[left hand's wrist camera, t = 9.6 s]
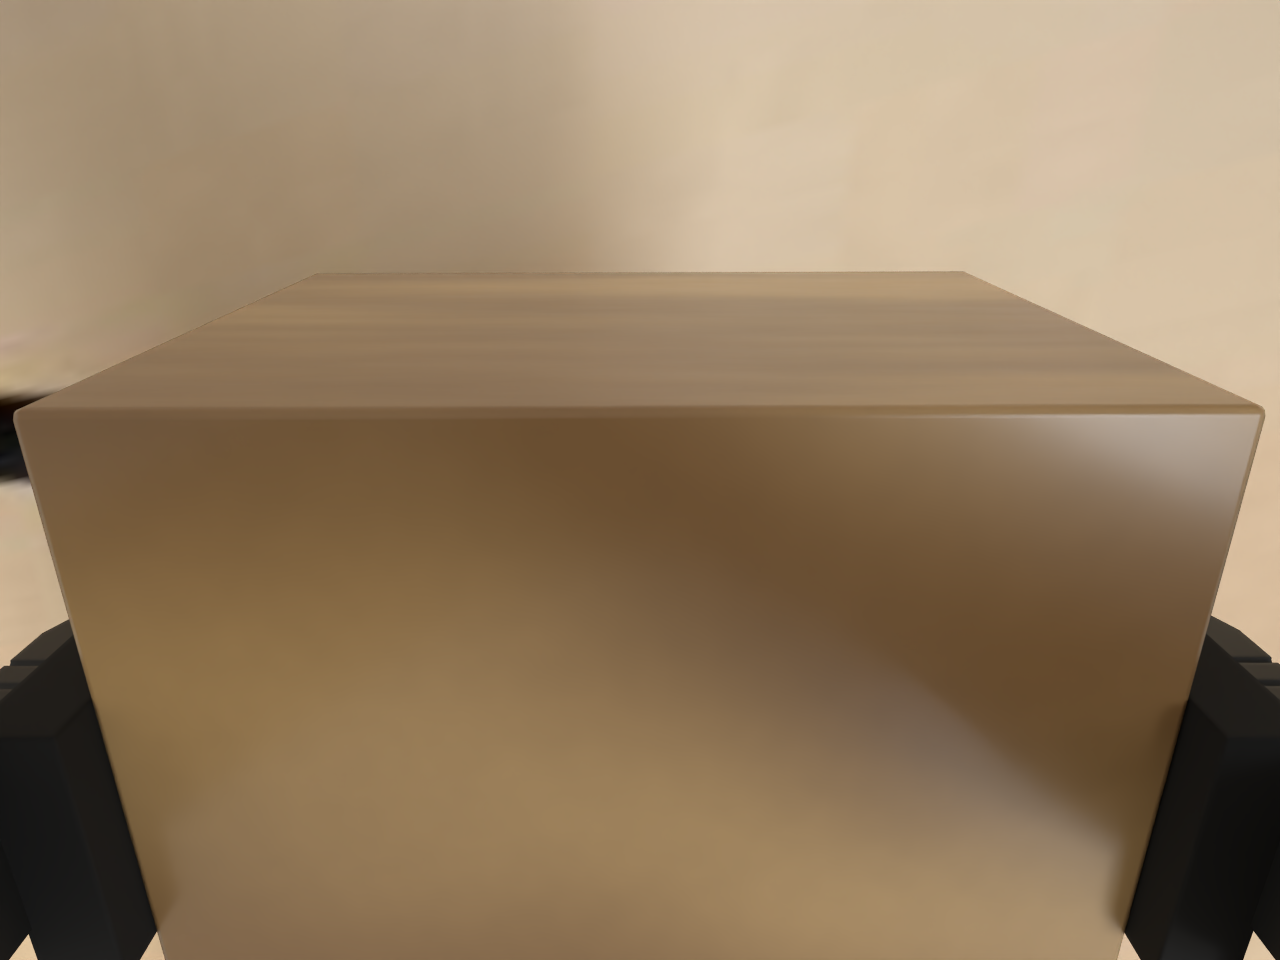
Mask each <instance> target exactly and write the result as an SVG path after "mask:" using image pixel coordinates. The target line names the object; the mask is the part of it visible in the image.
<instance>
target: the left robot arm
mask: <svg viewBox="0 0 1280 960" xmlns="http://www.w3.org/2000/svg"><path fill="white" fill-rule="evenodd" d="M1253 931H1254V932H1255V933H1256V935H1257V936H1258V937H1259V939H1260V940H1261V941H1262V943H1263V944H1264V945H1265V946H1266V948H1267V949H1268V950H1269V952H1270V953H1271V954H1272V956H1273V957H1274V958H1275V960H1280V664H1279V663H1272V661H1271V657H1270V656H1269V655H1268V654H1267V653H1266V652H1264V651H1263V650H1262V649H1261V648H1260V647H1259V646H1257V645H1256V644H1255V643H1254V642H1253V641H1251V640H1250V639H1249V638H1248V637H1247V636H1246V635H1244V634H1243V633H1242V632H1241V631H1240V630H1238V629H1236V628H1234V627H1232V626H1230V625H1228V624H1226V623H1224V622H1223V621H1221V620H1219V619H1217V618H1215V617H1213V616H1211V617H1210V621H1209V624H1208V628H1207V632H1206V635H1205V639H1204V643H1203V646H1202V650H1201V654H1200V657H1199V661H1198V665H1197V668H1196V672H1195V676H1194V679H1193V683H1192V686H1191V690H1190V694H1189V697H1188V701H1187V705H1186V708H1185V712H1184V716H1183V719H1182V723H1181V727H1180V730H1179V734H1178V738H1177V741H1176V745H1175V749H1174V752H1173V756H1172V760H1171V763H1170V767H1169V771H1168V774H1167V778H1166V782H1165V785H1164V789H1163V793H1162V796H1161V800H1160V804H1159V807H1158V811H1157V815H1156V818H1155V822H1154V826H1153V829H1152V833H1151V837H1150V840H1149V844H1148V848H1147V851H1146V855H1145V859H1144V862H1143V866H1142V870H1141V873H1140V877H1139V881H1138V884H1137V888H1136V892H1135V895H1134V899H1133V903H1132V906H1131V910H1130V914H1129V917H1128V921H1127V925H1126V928H1125V932H1124V933H1125V934H1126V936H1127V938H1128V939H1129V941H1130V943H1131V944H1132V946H1133V948H1134V949H1135V951H1136V953H1137V954H1138V956H1139V958H1140V959H1141V960H1243V958H1244V956H1245V953H1246V950H1247V947H1248V944H1249V942H1250V939H1251V936H1252V933H1253ZM156 932H157V929H156V925H155V922H154V918H153V915H152V911H151V908H150V904H149V901H148V897H147V893H146V890H145V886H144V883H143V879H142V876H141V872H140V869H139V865H138V861H137V858H136V854H135V851H134V847H133V844H132V840H131V837H130V833H129V830H128V826H127V822H126V819H125V815H124V812H123V808H122V805H121V801H120V798H119V794H118V790H117V787H116V783H115V780H114V776H113V773H112V769H111V766H110V762H109V759H108V755H107V751H106V748H105V744H104V741H103V737H102V734H101V730H100V727H99V723H98V719H97V716H96V712H95V709H94V705H93V702H92V698H91V695H90V691H89V688H88V684H87V680H86V677H85V673H84V670H83V666H82V663H81V659H80V656H79V652H78V648H77V645H76V641H75V638H74V634H73V631H72V627H71V624H70V620H67V621H65V622H63V623H61V624H59V625H57V626H55V627H53V628H52V629H50V630H48V631H46V632H44V633H42V634H41V635H40V636H39V637H38V638H36V639H35V640H34V641H33V642H32V643H30V644H29V645H28V646H27V647H26V648H25V649H23V650H22V651H21V652H20V653H19V654H18V655H16V656H15V657H14V658H13V659H12V660H11V664H10V666H4V667H2V668H1V669H0V960H9V959H10V958H11V956H12V955H13V954H14V952H15V951H16V950H17V948H18V947H19V946H20V945H21V943H22V942H23V941H24V939H25V938H26V937H27V935H28V934H29V936H30V939H31V942H32V945H33V948H34V950H35V953H36V956H37V959H38V960H140V959H141V957H142V955H143V954H144V952H145V950H146V949H147V947H148V945H149V944H150V942H151V940H152V939H153V937H154V935H155V934H156Z"/></svg>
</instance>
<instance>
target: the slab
mask: <svg viewBox="0 0 1280 960" xmlns="http://www.w3.org/2000/svg"><path fill="white" fill-rule="evenodd" d="M1264 419H1265V410H1264V409H1263V407H1262V406H1259V405H1257V404H1255V403H1253V402H1251V401H1248V400H1246V399H1244V398H1242V397H1240V396H1237V395H1235V394H1233V393H1231V392H1229V391H1226V390H1224V389H1222V388H1220V387H1217V386H1215V385H1213V384H1211V383H1209V382H1206V381H1204V380H1202V379H1200V378H1198V377H1195V376H1193V375H1191V374H1189V373H1186V372H1184V371H1182V370H1180V369H1178V368H1175V367H1173V366H1171V365H1169V364H1167V363H1164V362H1162V361H1160V360H1158V359H1156V358H1153V357H1151V356H1149V355H1147V354H1144V353H1142V352H1140V351H1138V350H1136V349H1133V348H1131V347H1129V346H1127V345H1125V344H1122V343H1120V342H1118V341H1116V340H1113V339H1111V338H1109V337H1107V336H1105V335H1102V334H1100V333H1098V332H1096V331H1094V330H1091V329H1089V328H1087V327H1085V326H1082V325H1080V324H1078V323H1076V322H1074V321H1071V320H1069V319H1067V318H1065V317H1063V316H1060V315H1058V314H1056V313H1054V312H1052V311H1049V310H1047V309H1045V308H1043V307H1040V306H1038V305H1036V304H1034V303H1032V302H1029V301H1027V300H1025V299H1023V298H1021V297H1018V296H1016V295H1014V294H1012V293H1009V292H1007V291H1005V290H1003V289H1001V288H998V287H996V286H994V285H992V284H990V283H987V282H985V281H983V280H981V279H978V278H976V277H974V276H972V275H970V274H967V273H965V272H674V273H381V274H315V275H313V276H311V277H309V278H306V279H304V280H302V281H300V282H298V283H295V284H293V285H291V286H289V287H287V288H284V289H282V290H280V291H278V292H276V293H273V294H271V295H269V296H267V297H265V298H262V299H260V300H258V301H256V302H254V303H251V304H249V305H247V306H245V307H243V308H240V309H238V310H236V311H234V312H232V313H229V314H227V315H225V316H223V317H221V318H218V319H216V320H214V321H212V322H210V323H207V324H205V325H203V326H201V327H199V328H196V329H194V330H192V331H190V332H188V333H185V334H183V335H181V336H179V337H177V338H174V339H172V340H170V341H168V342H166V343H163V344H161V345H159V346H157V347H155V348H152V349H150V350H148V351H146V352H144V353H141V354H139V355H137V356H135V357H133V358H130V359H128V360H126V361H124V362H122V363H119V364H117V365H115V366H113V367H111V368H108V369H106V370H104V371H102V372H100V373H97V374H95V375H93V376H91V377H89V378H86V379H84V380H82V381H80V382H78V383H75V384H73V385H71V386H69V387H67V388H64V389H62V390H60V391H58V392H56V393H53V394H51V395H49V396H47V397H45V398H42V399H40V400H38V401H36V402H34V403H31V404H29V405H27V406H25V407H23V408H20V409H18V410H16V411H15V413H14V417H13V421H14V425H15V428H16V432H17V435H18V439H19V443H20V446H21V450H22V453H23V457H24V460H25V464H26V467H27V471H28V475H29V478H30V482H31V485H32V489H33V492H34V496H35V499H36V503H37V506H38V510H39V514H40V517H41V521H42V524H43V528H44V531H45V535H46V538H47V542H48V546H49V549H50V553H51V556H52V560H53V563H54V567H55V570H56V574H57V577H58V581H59V585H60V588H61V592H62V595H63V599H64V602H65V606H66V609H67V613H68V617H69V620H70V624H71V627H72V631H73V634H74V638H75V641H76V645H77V648H78V652H79V656H80V659H81V663H82V666H83V670H84V673H85V677H86V680H87V684H88V688H89V691H90V695H91V698H92V702H93V705H94V709H95V712H96V716H97V719H98V723H99V727H100V730H101V734H102V737H103V741H104V744H105V748H106V751H107V755H108V759H109V762H110V766H111V769H112V773H113V776H114V780H115V783H116V787H117V790H118V794H119V798H120V801H121V805H122V808H123V812H124V815H125V819H126V822H127V826H128V830H129V833H130V837H131V840H132V844H133V847H134V851H135V854H136V858H137V861H138V865H139V869H140V872H141V876H142V879H143V883H144V886H145V890H146V893H147V897H148V901H149V904H150V908H151V911H152V915H153V918H154V922H155V925H156V929H157V932H158V936H159V940H160V943H161V947H162V950H163V954H164V957H165V960H1117V957H1118V954H1119V950H1120V947H1121V943H1122V939H1123V936H1124V932H1125V928H1126V925H1127V921H1128V917H1129V914H1130V910H1131V906H1132V903H1133V899H1134V895H1135V892H1136V888H1137V884H1138V881H1139V877H1140V873H1141V870H1142V866H1143V862H1144V859H1145V855H1146V851H1147V848H1148V844H1149V840H1150V837H1151V833H1152V829H1153V826H1154V822H1155V818H1156V815H1157V811H1158V807H1159V804H1160V800H1161V796H1162V793H1163V789H1164V785H1165V782H1166V778H1167V774H1168V771H1169V767H1170V763H1171V760H1172V756H1173V752H1174V749H1175V745H1176V741H1177V738H1178V734H1179V730H1180V727H1181V723H1182V719H1183V716H1184V712H1185V708H1186V705H1187V701H1188V697H1189V694H1190V690H1191V686H1192V683H1193V679H1194V676H1195V672H1196V668H1197V665H1198V661H1199V657H1200V654H1201V650H1202V646H1203V643H1204V639H1205V635H1206V632H1207V628H1208V624H1209V621H1210V617H1211V613H1212V610H1213V606H1214V602H1215V599H1216V595H1217V591H1218V588H1219V584H1220V580H1221V577H1222V573H1223V569H1224V566H1225V562H1226V558H1227V555H1228V551H1229V547H1230V544H1231V540H1232V536H1233V533H1234V529H1235V525H1236V522H1237V518H1238V514H1239V511H1240V507H1241V503H1242V500H1243V496H1244V492H1245V489H1246V485H1247V481H1248V478H1249V474H1250V470H1251V467H1252V463H1253V459H1254V456H1255V452H1256V448H1257V445H1258V441H1259V437H1260V434H1261V430H1262V426H1263V423H1264Z"/></svg>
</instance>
